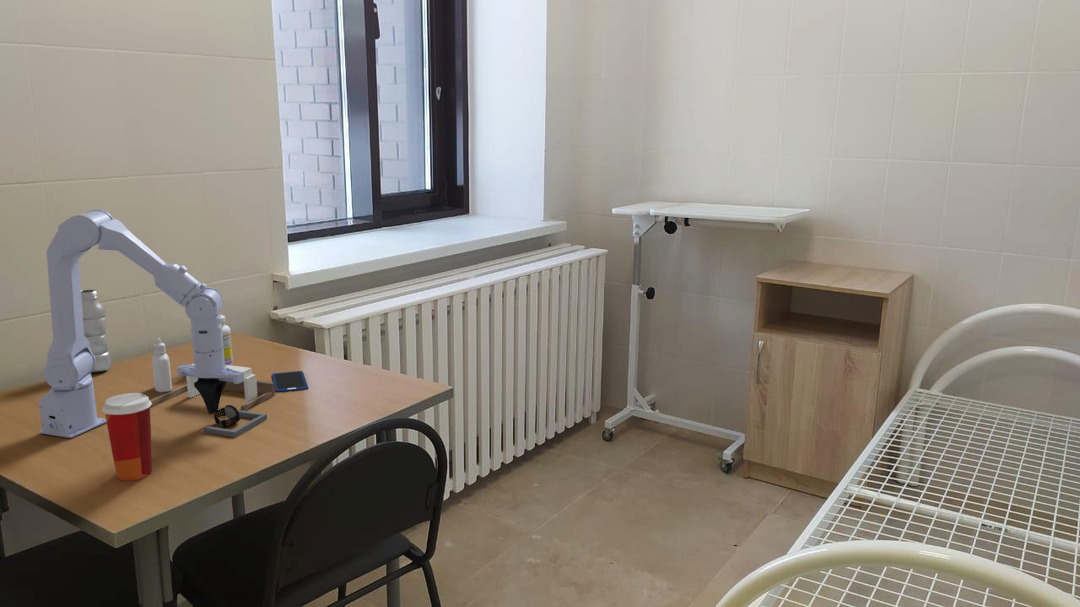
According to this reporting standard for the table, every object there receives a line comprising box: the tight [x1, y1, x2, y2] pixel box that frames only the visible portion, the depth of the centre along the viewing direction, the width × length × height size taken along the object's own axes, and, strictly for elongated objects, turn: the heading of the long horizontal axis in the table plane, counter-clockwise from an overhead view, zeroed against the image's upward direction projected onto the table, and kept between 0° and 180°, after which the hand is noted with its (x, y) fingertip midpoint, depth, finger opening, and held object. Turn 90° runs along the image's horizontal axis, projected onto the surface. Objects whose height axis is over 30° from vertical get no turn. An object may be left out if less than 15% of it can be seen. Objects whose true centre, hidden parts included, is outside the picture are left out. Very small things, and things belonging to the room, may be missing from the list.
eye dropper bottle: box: [151, 337, 173, 393], centre depth 186 cm, size 4×6×12 cm
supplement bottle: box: [220, 314, 234, 366], centre depth 203 cm, size 7×7×13 cm
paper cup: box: [101, 392, 153, 482], centre depth 143 cm, size 8×8×14 cm
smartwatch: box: [213, 404, 241, 429], centre depth 168 cm, size 4×5×5 cm
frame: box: [202, 409, 268, 438], centre depth 167 cm, size 10×7×1 cm
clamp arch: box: [185, 362, 259, 404], centre depth 181 cm, size 3×16×8 cm, turn 73°
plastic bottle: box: [81, 289, 112, 374], centre depth 197 cm, size 6×7×20 cm
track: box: [150, 379, 276, 411], centre depth 178 cm, size 21×21×3 cm
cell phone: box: [271, 370, 309, 394], centre depth 194 cm, size 7×14×1 cm, turn 21°
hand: (213, 412), depth 168 cm, fingers closed
